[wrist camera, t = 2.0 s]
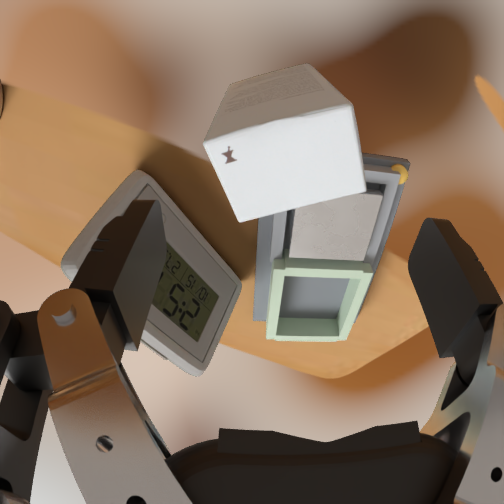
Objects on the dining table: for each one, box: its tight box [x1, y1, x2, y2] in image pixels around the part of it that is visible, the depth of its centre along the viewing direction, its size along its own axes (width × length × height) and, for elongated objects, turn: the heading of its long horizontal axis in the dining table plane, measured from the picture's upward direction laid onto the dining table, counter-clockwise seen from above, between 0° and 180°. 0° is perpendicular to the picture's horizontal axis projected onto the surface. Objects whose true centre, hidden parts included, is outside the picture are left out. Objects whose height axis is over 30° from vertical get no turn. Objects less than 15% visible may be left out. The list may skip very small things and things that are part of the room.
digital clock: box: [61, 170, 242, 376], centre depth 27 cm, size 16×9×11 cm, turn 20°
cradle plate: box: [289, 189, 383, 261], centre depth 26 cm, size 7×7×1 cm
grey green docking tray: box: [253, 153, 410, 342], centre depth 29 cm, size 12×21×3 cm, turn 178°
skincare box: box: [203, 63, 367, 222], centre depth 17 cm, size 6×4×12 cm
